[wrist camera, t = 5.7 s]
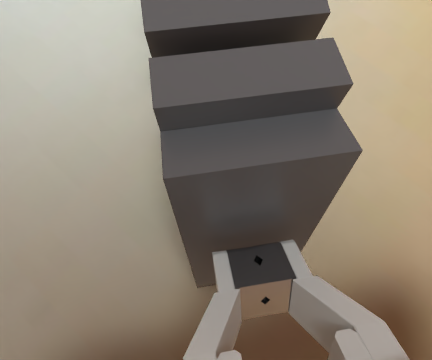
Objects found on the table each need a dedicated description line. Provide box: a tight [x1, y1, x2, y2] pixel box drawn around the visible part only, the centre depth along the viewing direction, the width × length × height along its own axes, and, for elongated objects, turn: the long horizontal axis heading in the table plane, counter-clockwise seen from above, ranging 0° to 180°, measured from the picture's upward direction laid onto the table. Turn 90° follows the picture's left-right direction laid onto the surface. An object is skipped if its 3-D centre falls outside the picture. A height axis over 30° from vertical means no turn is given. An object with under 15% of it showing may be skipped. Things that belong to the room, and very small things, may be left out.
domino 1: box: [141, 0, 330, 58], centre depth 12 cm, size 2×5×10 cm, turn 99°
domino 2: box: [149, 38, 353, 131], centre depth 12 cm, size 2×5×10 cm, turn 99°
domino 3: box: [160, 108, 363, 288], centre depth 11 cm, size 2×5×10 cm, turn 99°
